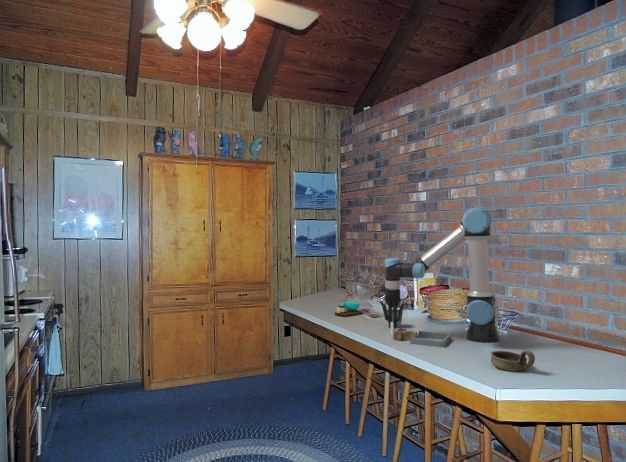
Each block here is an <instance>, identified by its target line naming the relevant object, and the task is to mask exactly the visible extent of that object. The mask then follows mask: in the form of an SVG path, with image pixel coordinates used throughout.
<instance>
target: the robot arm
mask: <svg viewBox="0 0 626 462" xmlns="http://www.w3.org/2000/svg"><path fill="white" fill-rule="evenodd" d="M491 223H492V218H491V215H490V213H489V212H488V211H487V210H485V209H483V208H482V207H481V208H480V207H472V208H470V209H468V210H467V211H466V212H465V213H464V214H463V217H462V220H461V222H459V225H458V227H457V228H455V229H454V230H453V231H452V232H450V233H449V234H448V235H446V236H445V237H444V238H442V239H440V241H439V242H437V243H436V244H434V245H433V246H432V247H430V249H428V251H426V252H424V254H422V255H420V257H418V258H417V259H416V260H415V261H412V262H402V261H401V259H400V258H397V257H394V258H393V257H391V258H386V259H385V266H384V270H385V273H384V276H385V281H384V283H385V284H384V285H385V290H384V291H385V292H384V293H385V294H384V295H385V297H384V299H383V300H381V301H379V303H380V305H381V308H382V311H383V312H382V313H383V316H384V320H385V321H387V322H388V321H389V324H388V328H389V329H390V336H394V332H395V331H396V329H397V322H398V321H400V320H401V316H402V317H403V314H402V312H403V310H404V307H405V306H406V302H404V301H402V299H401V289H400V288H401V278H410V279H423V278H424V277H425V275H426V274H425V273H426V272H427V271H428V270H429V269H430V268H431V267H433V266H434V265H435V264H437V263H439V261H441V260H442V259H444V258H445V257H446V256H447V255H449V254H450V253H452V252H453V251H454V250H455V249H457V248H458V247H460V245H461V244H463V243H464V242H466V241H467V249H468V250H467V252H468V274H469V276H468V277H469V292H467V294H466V305H467V306H466V308H465V312H466V316H467V318H468V319H469V325H468V327H467V331H466V339H468V340H470V341H473V342H479V343H495V342H499V340H500V336H499V332H498V329H497V325H496V294H495V293H492V292H491V290H490V277H489V276H490V275H489V274H490V273H489V272H490V271H489V250H488V248H489V246H488V240H489V239H490V237H491ZM398 306H400V307H399V309H398ZM387 307H388V308H387ZM387 309H389V314H388V312H387ZM392 309H393V321H392ZM397 310H399V313H398V317H397Z"/></svg>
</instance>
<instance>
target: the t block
mask: <svg viewBox="0 0 626 462" xmlns="http://www.w3.org/2000/svg"><path fill="white" fill-rule="evenodd" d="M410 338H418V331H415V330H413V331H411V330H407V328H400V327H398V329H397V330H396V329H395V332H394V335H393V341H396V342H402V340H403V341H410Z"/></svg>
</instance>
